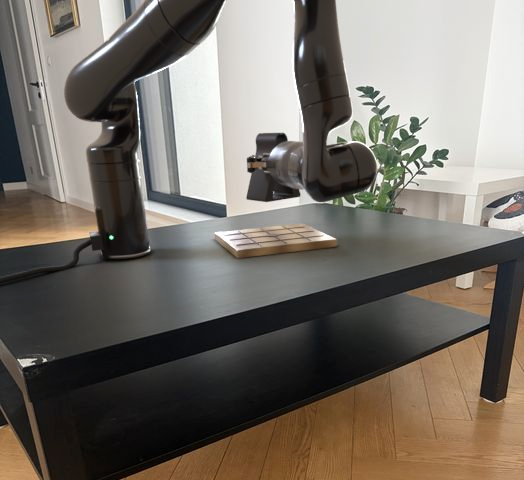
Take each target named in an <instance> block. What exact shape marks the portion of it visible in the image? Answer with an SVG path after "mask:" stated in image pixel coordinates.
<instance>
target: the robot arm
mask: <svg viewBox="0 0 524 480" xmlns="http://www.w3.org/2000/svg"><path fill="white" fill-rule="evenodd" d="M227 1H228V0H144V1H142V3H141V4H140V6H138V8H137V9H136V10H135V11H134V12H133V13H132V14H131V15H130V16H129V17H128V18H127V19H125V21H124V22H123V23H122V24H121V25H120V26H119V27H118V28H117V29H116V30H115V31H114V32H113V33H112V34H111V36H109V38H107V39H106V40H105V41H104V42H103V43H102V44H101V45H99V46H98V47H96V49H94V50H93V51H91V52H90V53H89V54H88V55H86V56H85V57H84V58H82V59H81V60H80V61H79V62H77V63H76V64H75V65H74V66H73V67H72V68H71V69H70V71H69V73H68V74H67V76H66V79H65V82H64V88H63V97H64V98H63V99H64V103H65V105H66V107H67V109H68V110H69V112H70V113H71V114H72V115H73V116H74V117H76V118H77V119H78V120H81V121H84V122H89V123H101V131H100V134H99V136H98V138H97V139H95V141H93V142H91V143H90V144H88V145H87V147H86V149H85V157H86V163H87V169H88V175H89V182H90V188H91V194H92V199H93V209H94V215H95V216H94V217H95V221H96V227H97V231H91V232H89V239H88V240H85V241H84V242H83V243H81V244H79V245H78V246H77V247H76V248H75V249H74V251H73V254H72V256H73V257H72V260H71V261H69V262H68V263H65V264H63V265H55V266H54V265H52V266H41V267H36V268H32V269H28V270H24V271H20V272H16V273H12V274H8V275H3V276H0V284H4V283H8V282H12V281H16V280H20V279H23V278H27V277H30V276H36V275H39V274H45V273H54V272H59V271H63V270H64V271H65V270H67V269H72V268H73V267H75V266H76V265H77V264H78V262H79V260H80V253H81V252H82V251H83V250H84V249H86V248H88V247H89V246H91V251H92V252H95V251H96V252H97V251H100V254H101V257H102V260H104V261H105V260H131V259H136V258H142V257H145V256H147V255H149V254H150V253H151V252H152V251H151V247H150V239H149V231H148V222H147V214H146V207H145V206H146V205H145V199H144V189H143V183H142V174H141V166H140V160H139V149H140V145H141V129H140V113H139V101H138V95H137V89H136V85H135V82H136V81H138V80H141V79H143V78H145V77H148V76H150V75H153V74H155V73H158V72H160V71H163V70H164V69H166V68H170V67H171V66H173V65H175V64H176V63H178V62H180V61H182V60H183V59H185V58H186V57H187V56H188V55H190V53H191V52H193V51H194V50H195V49H196V48H197V47H198V46H200V45H201V44H202V43H203V42H204V41H206V39H207V38H208V37H209V36H210V35H211V34H212V33H213V31H214V29H215V28H216V27H217V25H218V23H219V20H220V19H221V15H222V14H223V12H224V11H223V10H224V8H225V5H226V3H227ZM292 4H293V12H294V13H293V14H294V26H293V27H294V28H293V30H294V31H293V39H292V54H291V55H292V59H291V61H292V62H291V63H292V74H293V81H294V88H295V92H296V95H297V102H298V107H299V109H300V115H301V123H302V141H299V140H298V141H296V140H288V141H285V142H282V143H280V144H279V145H277V146H276V147H275V148H274V149H273V151H272V152H270V153H263V154H260V155H258V157H257V156H255V155H256V154H252V155H250V156H247V157H246V169H247V171H246V172H247V173H249V174H251V173H252V172H255V171H257V168H258V167H259V169H261V170H263V171H264V172H266V173H270V174H271V176H272V177H273V179H274V180H275V181H276V182H277V183H279V184H281V185H284V186H287V187H291V188H295V189H299V190H304V191H305V192H306V194H307V195H308V197H309V198H311V199H312V200H313V201H314V202H316V203H326V202H330V201H334V200H337V199H338V200H339V199H342V198H344V197H347V196H352V195H356V194H360V193H362V192H364V191H367V190H368V189H370V187H371V186H372V185H373V184H374V183H375V182H374V181H375V180H376V178H377V174H378V162H377V158H376V156H375V154H374V152H373V151H372V150H371V148H370V147H368V146H367V145H366V144H365V143H363V142H360V141H357V140H355V141H354V140H353V141H351V140H350V141H344V142H343V141H342V142H336V143H330V144H328V139H329V136H330V133H331V132H332V131H334V130H336V129H338V128H341V127H342V126H345V124H348V123H349V122H350V121H351V120H352V118H353V114H354V113H353V111H354V110H353V103H352V99H351V98H352V97H351V93H350V87H349V82H348V76H347V70H346V66H345V61H344V56H343V55H344V54H343V50H342V44H341V43H342V41H341V37H340V29H339V21H338V10H337V0H292Z"/></svg>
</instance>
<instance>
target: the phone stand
mask: <svg viewBox="0 0 524 480" xmlns="http://www.w3.org/2000/svg"><path fill="white" fill-rule="evenodd" d="M285 141H289V139H288V136H287V134H286V133H285V132H260V133H258V134H257V135H256V137H255V146H256V147H255V154H254V155H255V156H257V157H258V155H260V154H263V153H270V152H272V151H273V149H274V148H275V147H276V146H277V145H279V144H280V143H282V142H285ZM248 183H249V184H248V187H247V193H246V199H245V200H248V201H254V202H261V203H269V202H270V203H271V202H276V201H277V202H278V201H282V200H290V199H294V198H295V199H296V198H300V197H301V192H300V189H295V188H291V187H287V186H284V185H281V184H279V183H277V182H276V181H275V180H274V179H273V177H272V176H271V174H270V173H266V172H264V171H263V170H261V169H259V167H258V168H257V171H255V172H252V173H250V179H249V182H248Z"/></svg>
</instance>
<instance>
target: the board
mask: <svg viewBox="0 0 524 480" xmlns="http://www.w3.org/2000/svg"><path fill="white" fill-rule="evenodd" d="M214 240H215V241H216V242H217V243H218V244H220V245H221V246H222V247H223V248H224V249H226V250H227V251H228V252H229V253H230V254H232V255H233V256H234V257H235V258H236V259H243V258H250V257H251V258H252V257H260V256H267V255H268V256H269V255H277V254H286V253H293V252H303V251H310V250H319V249H328V248H329V249H330V248H335V247H337V243H338V242H337V238H335V237H333V236H331V235H330V234H329V235H328V234H326V233H324V232H322V231H320V230H317V229H315V228H313V227H311V226H309V225H308V224H304V223H294V224H284V225H274V226H265V227H254V228H245V229H235V230H227V231H217V232H214Z"/></svg>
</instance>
